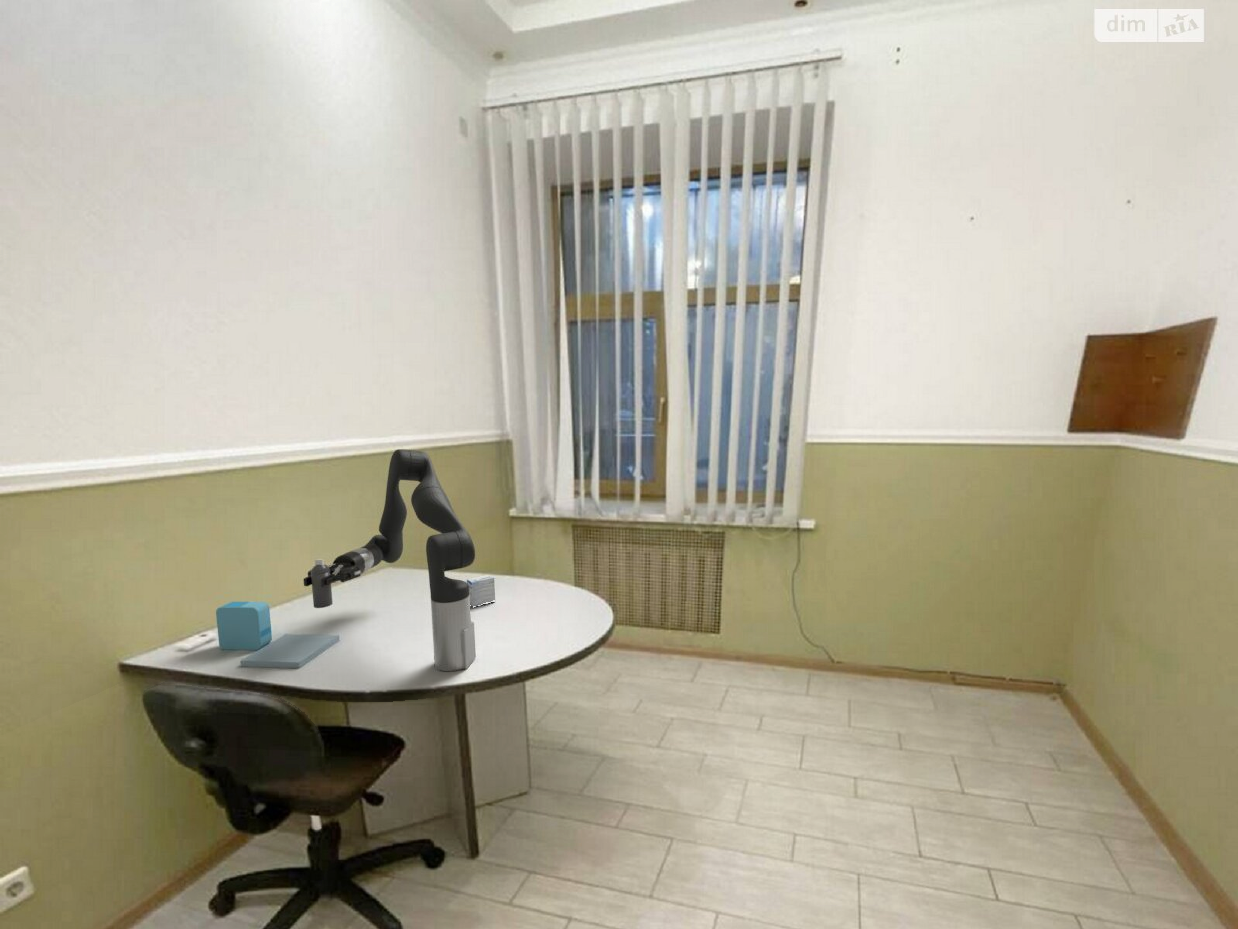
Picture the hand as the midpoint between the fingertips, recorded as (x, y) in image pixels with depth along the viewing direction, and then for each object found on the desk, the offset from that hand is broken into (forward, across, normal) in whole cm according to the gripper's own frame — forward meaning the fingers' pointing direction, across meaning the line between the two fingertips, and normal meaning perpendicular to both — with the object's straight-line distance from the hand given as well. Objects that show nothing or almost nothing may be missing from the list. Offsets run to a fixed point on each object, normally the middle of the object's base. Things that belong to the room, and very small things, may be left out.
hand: (314, 582), depth 138 cm
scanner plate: (0, -8, +20) cm, 21 cm away
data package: (-3, -24, +20) cm, 31 cm away
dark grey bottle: (-3, 0, +7) cm, 8 cm away
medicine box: (-39, +29, +20) cm, 53 cm away
